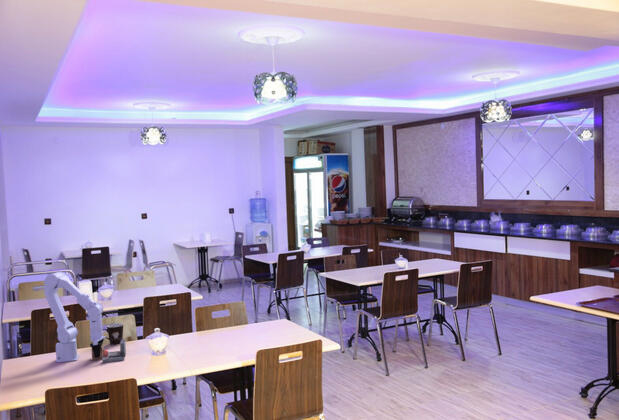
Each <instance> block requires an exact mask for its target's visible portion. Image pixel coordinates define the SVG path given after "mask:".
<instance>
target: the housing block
mask: <svg viewBox="0 0 619 420" xmlns="http://www.w3.org/2000/svg"><path fill="white" fill-rule="evenodd" d="M103 350H105V349H104V344H102V345H101V350H100V357H96V358H95V356H94V352H93V350H92V348H91V361H100V360H102V356H103Z"/></svg>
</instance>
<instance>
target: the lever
mask: <svg viewBox="0 0 619 420" xmlns="http://www.w3.org/2000/svg"><path fill="white" fill-rule="evenodd" d="M108 352H109V350H108V349H104V350H103V356H102V359H101V360H106V359H109V355H108Z"/></svg>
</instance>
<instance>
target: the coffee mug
mask: <svg viewBox="0 0 619 420" xmlns="http://www.w3.org/2000/svg"><path fill="white" fill-rule="evenodd" d="M102 329H103V331H105V332H107V335H108V337H107V336H105V337H106V338H105V339H106V340H108V341H109V345H111V346H118V345H120V342H121V340H123V337H124V323H121V322H120V323H119V322H118V323H117V322H116V323H111V324H108V325H107V326H106V328H102ZM117 344H118V345H117Z"/></svg>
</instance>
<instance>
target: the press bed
mask: <svg viewBox="0 0 619 420" xmlns="http://www.w3.org/2000/svg"><path fill="white" fill-rule="evenodd" d="M126 347H127V346H126V339H125V338H124V339H123V340H121V342H120V344H119V350H118V351H108V355H109V359H106V360H102V359H101V360H102V361H101V362H102V364H105V363H114V362H124V361H125V357H126V355H127V348H126Z"/></svg>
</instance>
